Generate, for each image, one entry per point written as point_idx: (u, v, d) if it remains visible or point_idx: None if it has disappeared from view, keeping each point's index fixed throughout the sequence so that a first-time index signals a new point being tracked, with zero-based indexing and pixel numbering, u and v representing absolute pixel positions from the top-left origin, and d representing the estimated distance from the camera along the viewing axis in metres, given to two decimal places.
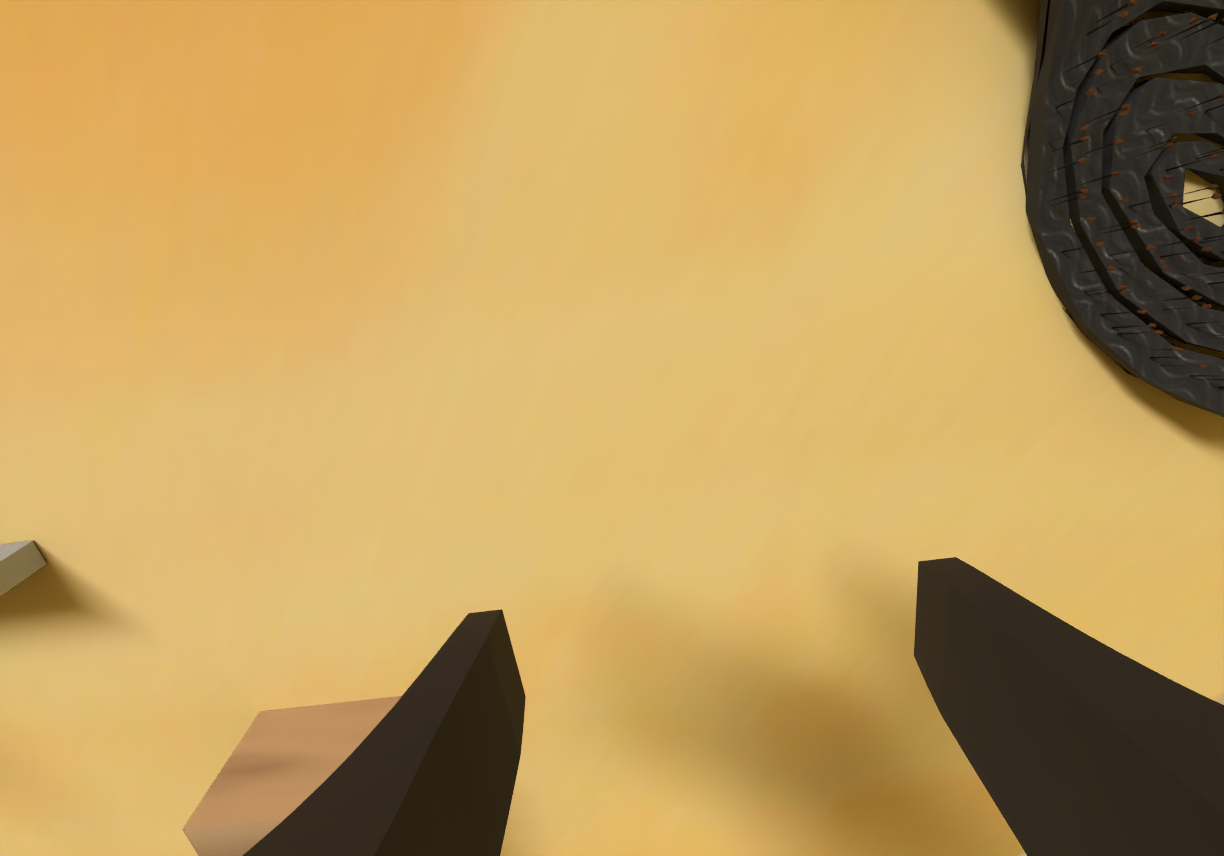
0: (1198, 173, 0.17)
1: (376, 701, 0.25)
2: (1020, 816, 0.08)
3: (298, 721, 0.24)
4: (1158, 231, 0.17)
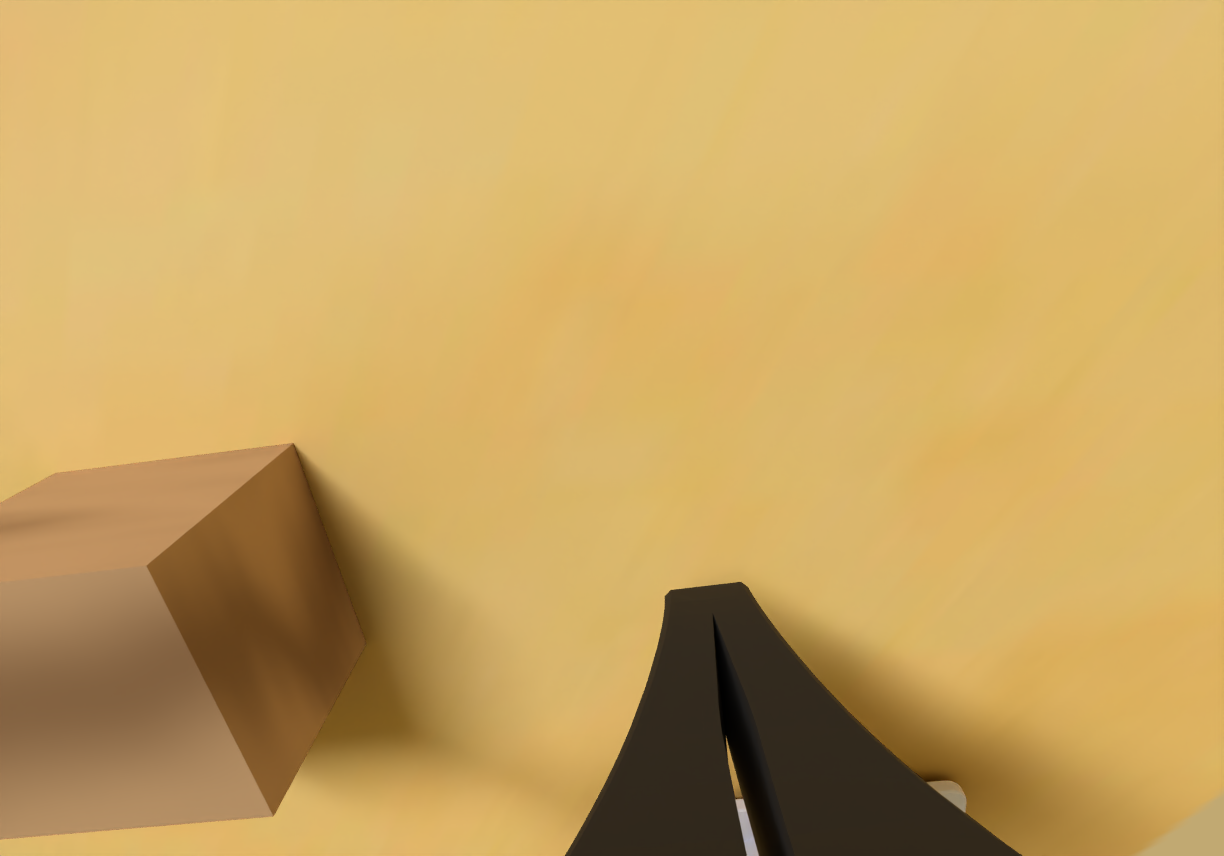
0: None
1: (247, 450, 0.14)
2: (758, 839, 0.09)
3: (109, 477, 0.14)
4: None
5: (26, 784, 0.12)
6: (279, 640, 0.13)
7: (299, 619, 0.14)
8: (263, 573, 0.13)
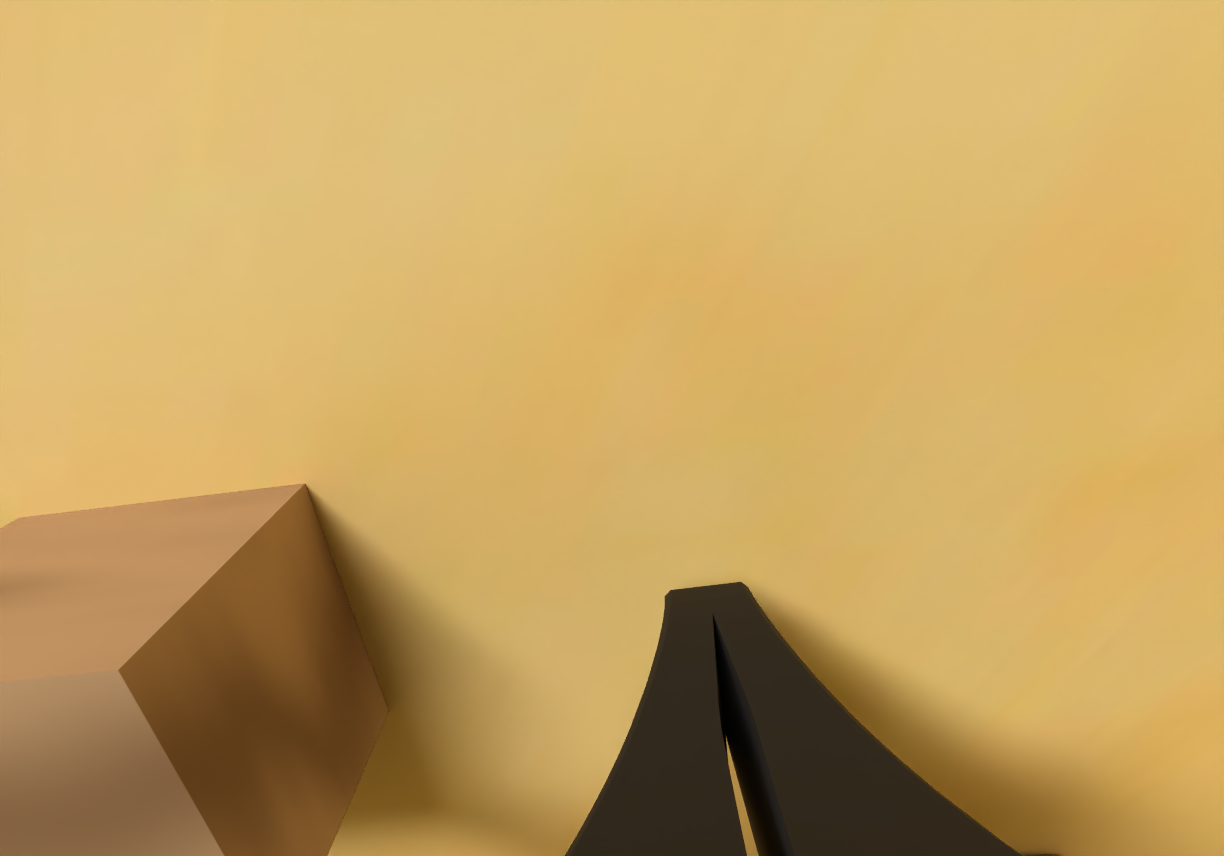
0: None
1: (250, 492, 0.12)
2: (758, 839, 0.09)
3: (82, 526, 0.12)
4: None
5: None
6: (290, 730, 0.11)
7: (313, 698, 0.12)
8: (270, 650, 0.11)
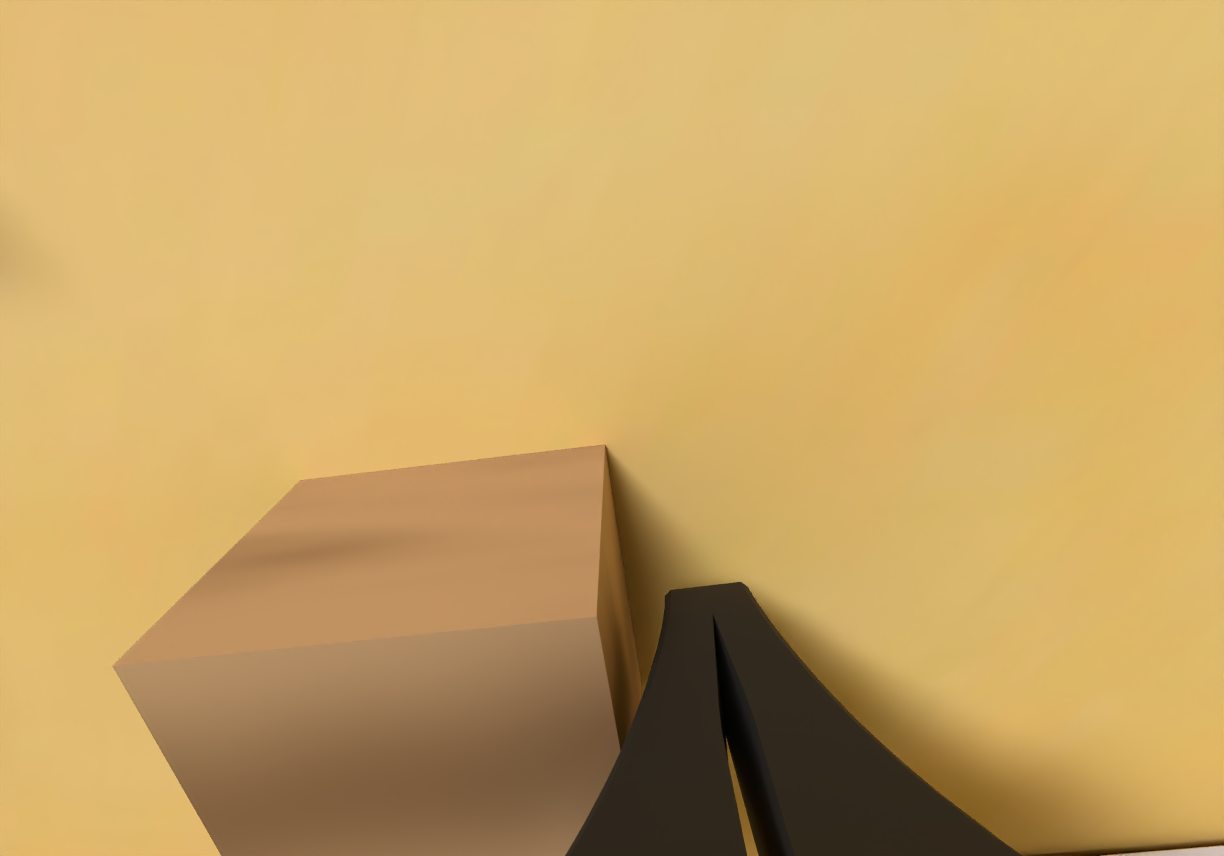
0: None
1: (550, 453, 0.12)
2: (758, 839, 0.09)
3: (386, 487, 0.11)
4: None
5: None
6: (629, 695, 0.10)
7: (628, 664, 0.11)
8: (617, 611, 0.10)
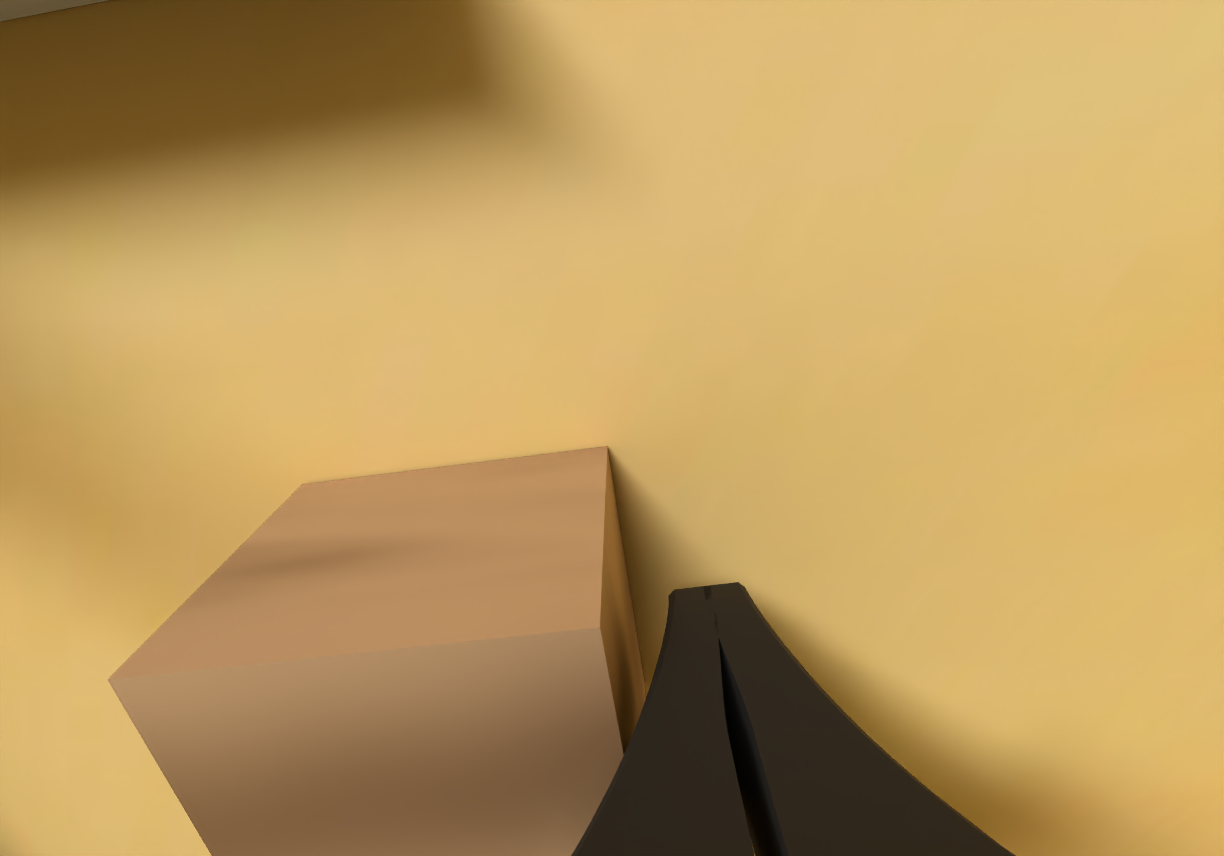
0: None
1: (552, 458, 0.12)
2: (754, 839, 0.09)
3: (386, 494, 0.11)
4: None
5: None
6: (633, 703, 0.10)
7: (632, 672, 0.11)
8: (620, 618, 0.10)
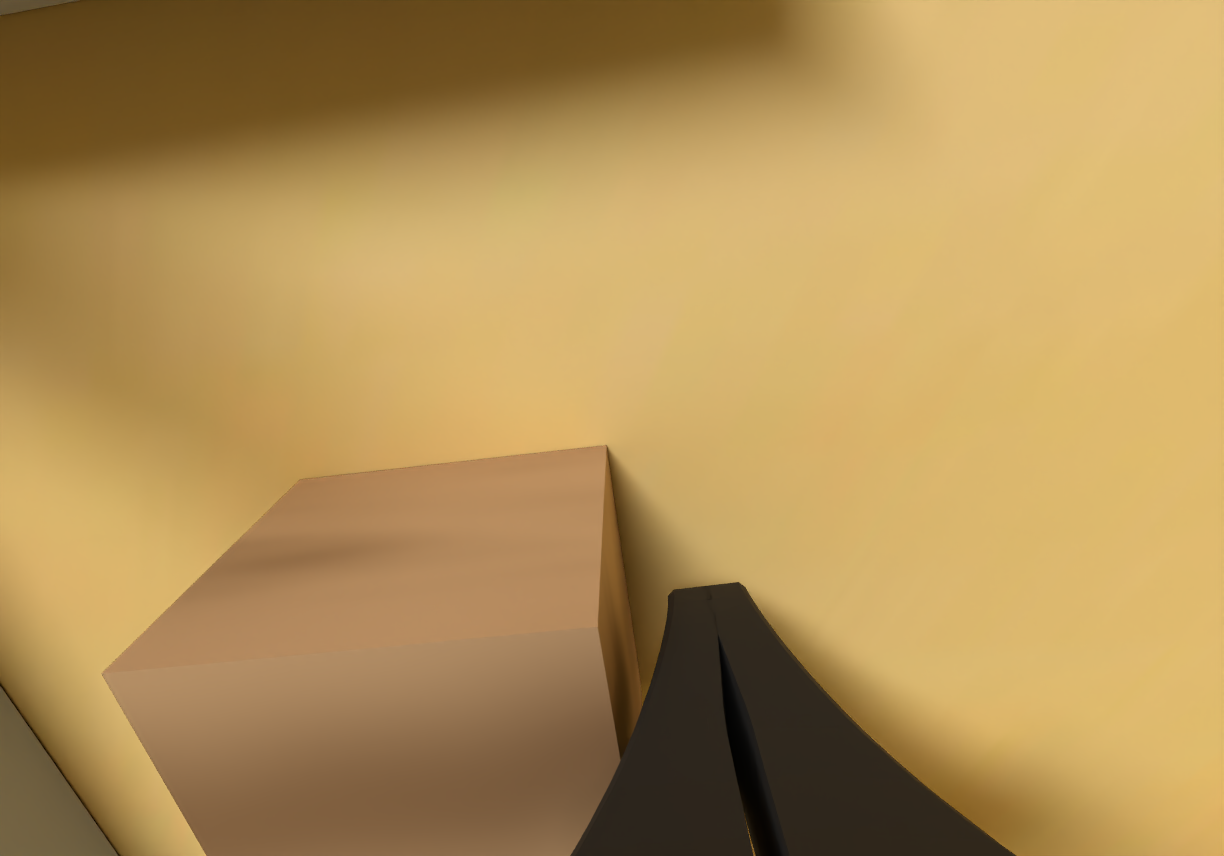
0: None
1: (551, 456, 0.11)
2: (755, 839, 0.09)
3: (383, 489, 0.11)
4: None
5: None
6: (628, 703, 0.10)
7: (629, 671, 0.11)
8: (618, 618, 0.10)
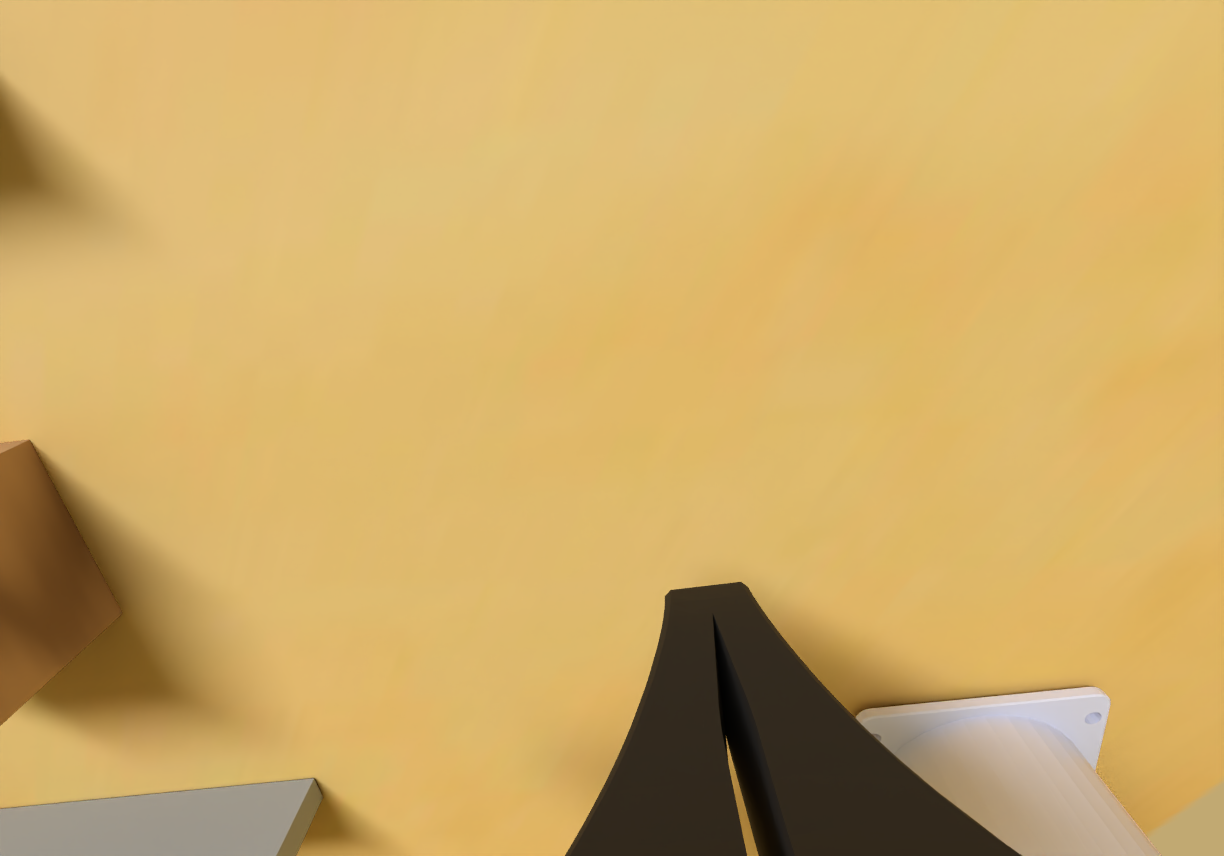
0: None
1: None
2: (758, 839, 0.09)
3: None
4: None
5: None
6: None
7: (26, 588, 0.17)
8: None
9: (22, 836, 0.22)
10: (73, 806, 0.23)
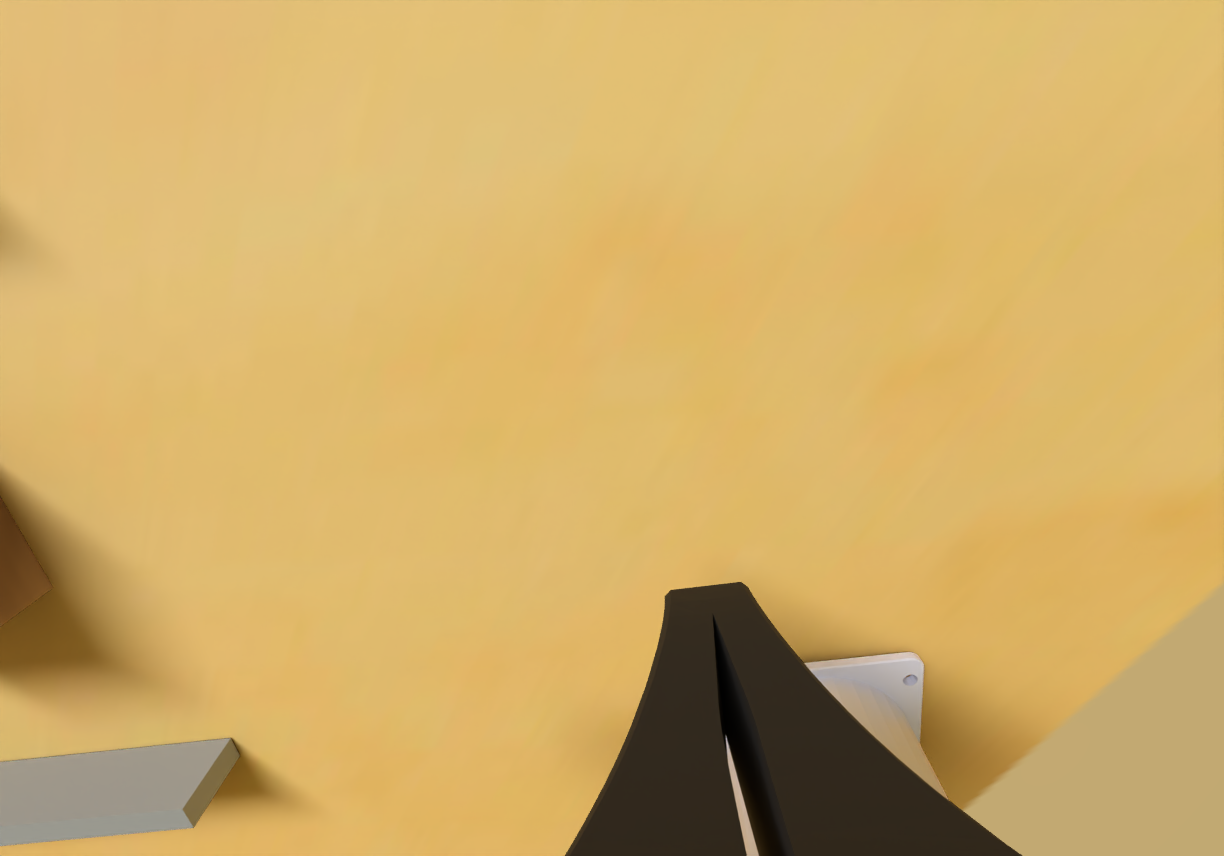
0: None
1: None
2: (758, 839, 0.09)
3: None
4: None
5: None
6: None
7: None
8: None
9: None
10: (18, 763, 0.25)
